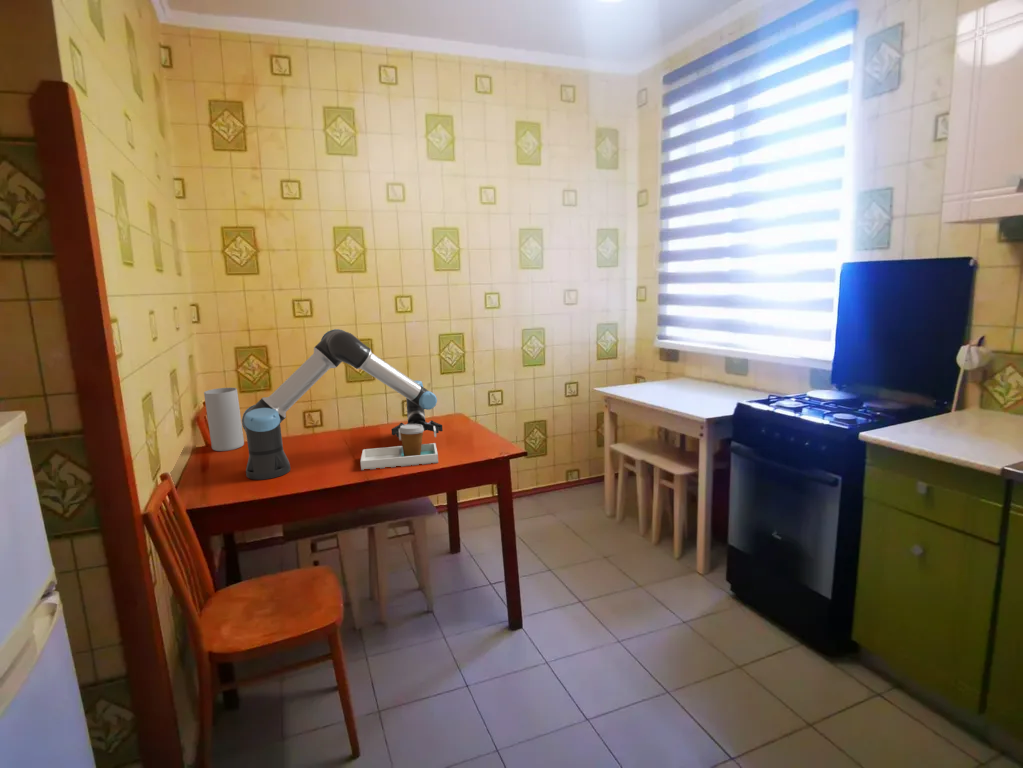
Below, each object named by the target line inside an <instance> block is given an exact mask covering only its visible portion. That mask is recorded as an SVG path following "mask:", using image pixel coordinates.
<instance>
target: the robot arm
mask: <svg viewBox="0 0 1023 768" xmlns="http://www.w3.org/2000/svg"><path fill="white" fill-rule="evenodd" d="M341 363H345V364H347V365H349V366H351V367H353V368H354V369H356V370H359V369H361V370H362V371H364V372H365V373H367V374H369V375H370V376H371V377H374V379H376V380H377V381H379V382H381V383H382V384H384V385H386V386H387V387H389V388H390V389H392V390H393V391H395V392H397V393H399V394H400V395H401V396H403V397H405V399H406V412H407V413H406V416H407V423H406V424H420V425H422V426H423V428H424V430H423V432H424V431H428V432H429V431H430V432H433V436H434V438H437V434H439V433H440V432H443V424H441V423H437V422H435V421H434V420H430V421H429V422H427V421H426V414H425V412H426V411H425V410H428V411H430V410H432V409H434V408H435V407H436V405H437V403H438V398H437V396H436V394H435V393H434V392H432V391H431V390H428V389H426V388H425V387H424V384H423V381H421V380H413V379H412V378H410V377H409V376H407V375H406V374H405V373H403V372H401V371H400V370H398V368H395V367H394V366H392V365H391V364H389V363H388V362H386V361H385V360H383V358H380V357H379V356H377V355H376V354H375V353H373V352H372V349H371V348H370V347H368V346H367V345H366V344H365V343H363V342H362V341H361V340H360V339H359V338H357V337H356V336H355V335H354V334H352V333H351V332H348V331H346V330H342V329H339V328H338V329H336V328H335V329H331V330H329V331H327V332H326V333H324V334H323V335H322V337H321V339H320V341H319V342H318V343H317V344H316V345H315V346H314V347H313V354H311V355H310V357H308V359H306V360H305V361H304V362H303V363H302V364H301V366H299V367H298V368H297V369H296V370H295V371H294V372H292V374H291V375H289V377H288V378H287V379H286V380H285V381H284V382H283V383H281V385H280V386H279V387H278V388H277V389H276V390H274V392H273V393H271V394H270V395H269V396H267V397H261V398H260V399H259V400H258V401H257V402H256V403H255V404H253V405H251V406H249V407H248V408H246V409H245V411H244V412H243V415H242V417H241V423H242V429H244V432H245V435H246V440H247V442H246V443H247V448H248V458H247V459H248V460H247V464H246V469H245V474H246V475H245V476H246V477H247V478H248V479H250V480H257V481H258V480H260V481H261V480H269V479H275V478H278V477H281V476H284V475H285V474H288V473H289V472H291V464H290V461H289V458H288V456H287V454H286V453H285V451H284V446H283V445H284V444H283V438H282V437H283V435H282V427H281V423H282V422H283V421H284V420H285V419H286V417H287V416H286V415H287V411H289V409H291V408H292V407H293V406H294V404H296V403H297V401H299V400H300V399H301V398H302V396H304V395H305V394H306V393H307V391H309V390H310V389H311V388H312V387H313V386H314V385H315V384H316V383H317V382H318V381H319V379H321V378H322V377H323V376H324V375H325V374H326V373H327V372H328V371H329V370H330V369H336V368H338V366H339V365H340V364H341ZM402 425H405V423H403V422H400V423H399V424H398V425H396V426H394V427H392V428H391V435H392V436H396V438H398V440H399V441H402V440H401V433H400V431H399V429H400V426H402Z"/></svg>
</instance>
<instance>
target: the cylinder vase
mask: <svg viewBox="0 0 1023 768" xmlns="http://www.w3.org/2000/svg"><path fill="white" fill-rule="evenodd" d="M238 394H239V393H238V389H237V387H219V388H211V389H208V390H205V391H204V392H203V396H204V402H205V410H206V416H207V423H208V430H209V438H210V444H211V449H212V450H213V451H217V452H227V451H233V450H237V449H239V448H242V447H243V446H245V441H244V440H245V439H244V438H245V437H244V433H243V426H242V416H241V410H240V409H241V408H240V403H239V395H238Z"/></svg>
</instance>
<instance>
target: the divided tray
mask: <svg viewBox="0 0 1023 768" xmlns="http://www.w3.org/2000/svg"><path fill="white" fill-rule="evenodd" d="M438 453H439V452H438V449H437V443H436V442H433V443H422V445H421V455H416V456H405V457H404V453H403V446H402V445H397V446H388V447H375V448H366V449H365V448H364V449H362V453H361V456H360V462H359V463H360V471H365V470H364V469H370V470H377V469H376V468H380V469H386V468H385V467H391V468H397V467H396V466H401V467H409V466H410V467H411V465H412V466H420V465H419V464H422V465H430V464H431V463H433V464H438V463H439V454H438ZM431 465H432V464H431Z"/></svg>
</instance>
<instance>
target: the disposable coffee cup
mask: <svg viewBox="0 0 1023 768" xmlns="http://www.w3.org/2000/svg"><path fill="white" fill-rule="evenodd" d="M399 431H400V433H401V440H400V441H401V446H403V453H404V457H405V456H416V455H421V445H422V444H423V443H422V442H423V435H424V428H423V426H422V425H420V424H407V423H406V424H404V425H402V426H400V429H399Z"/></svg>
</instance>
